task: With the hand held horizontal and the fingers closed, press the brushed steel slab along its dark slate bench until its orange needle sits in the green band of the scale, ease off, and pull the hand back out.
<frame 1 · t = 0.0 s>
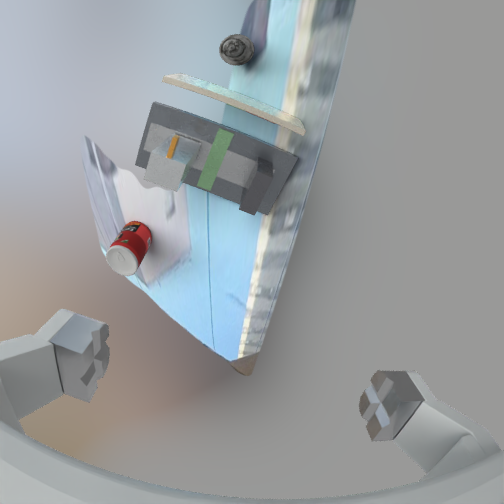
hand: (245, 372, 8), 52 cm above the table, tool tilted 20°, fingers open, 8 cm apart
brushed steel slab: (177, 151, 48), point 8 cm above the table, slide at 0.0 cm
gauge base: (213, 157, 57), on the table
canned food: (138, 233, 69), on the table
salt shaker: (238, 50, 44), on the table
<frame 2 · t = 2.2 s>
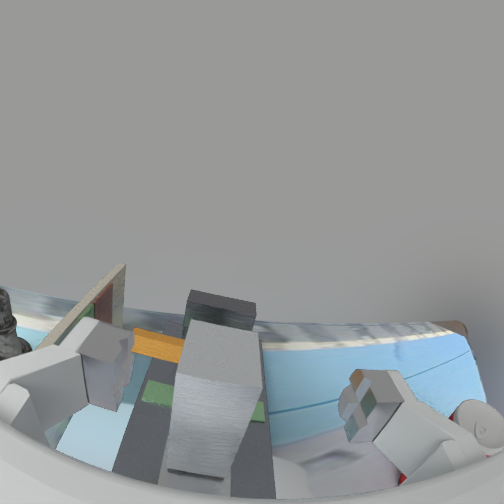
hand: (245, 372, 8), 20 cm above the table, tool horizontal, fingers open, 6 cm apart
brushed steel slab: (185, 404, 20), point 8 cm above the table, slide at 0.0 cm
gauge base: (202, 413, 28), on the table
canned food: (422, 486, 20), on the table
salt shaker: (16, 377, 23), on the table
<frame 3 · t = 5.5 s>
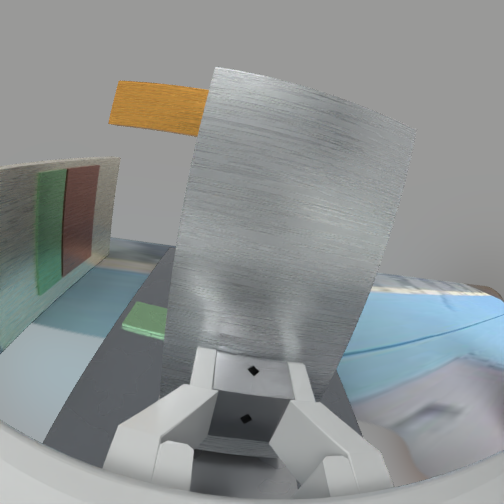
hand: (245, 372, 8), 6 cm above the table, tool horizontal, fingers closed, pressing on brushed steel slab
brushed steel slab: (207, 273, 10), point 8 cm above the table, slide at 0.1 cm, touching gripper
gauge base: (223, 355, 18), on the table
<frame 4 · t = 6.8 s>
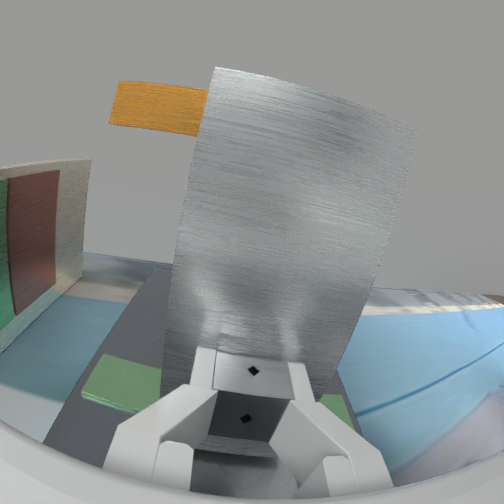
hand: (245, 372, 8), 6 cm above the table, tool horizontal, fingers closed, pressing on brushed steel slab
brushed steel slab: (207, 273, 10), point 8 cm above the table, slide at 6.3 cm, touching gripper
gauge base: (218, 428, 12), on the table
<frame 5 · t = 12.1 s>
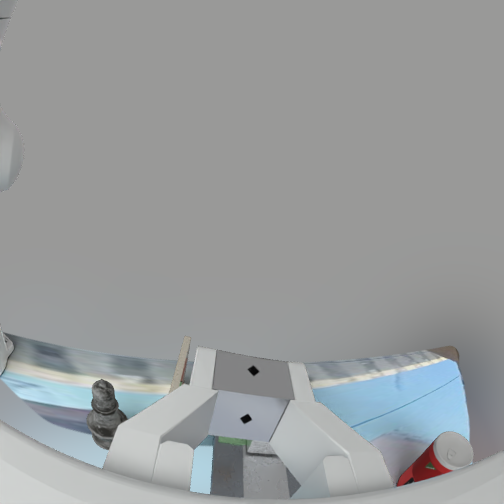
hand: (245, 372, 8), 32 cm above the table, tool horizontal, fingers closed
brushed steel slab: (262, 412, 35), point 8 cm above the table, slide at 6.3 cm
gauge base: (260, 446, 37), on the table
canned food: (413, 489, 30), on the table
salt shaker: (110, 436, 32), on the table
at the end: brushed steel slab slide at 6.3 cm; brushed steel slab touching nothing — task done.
